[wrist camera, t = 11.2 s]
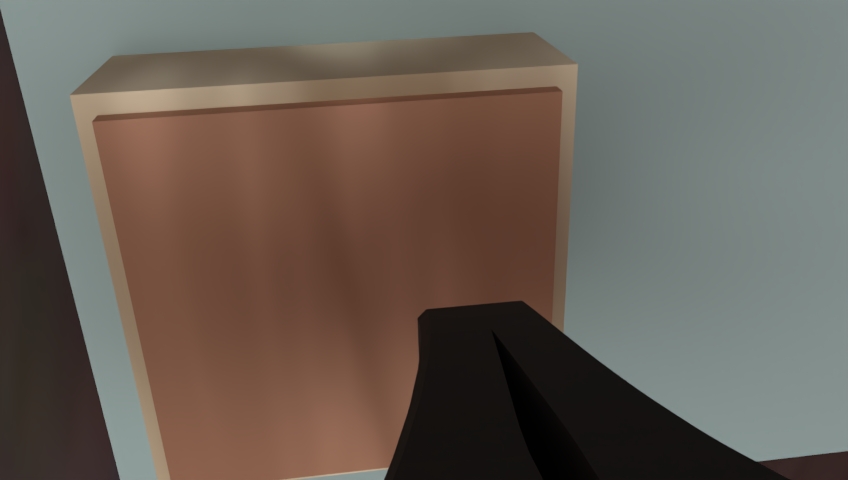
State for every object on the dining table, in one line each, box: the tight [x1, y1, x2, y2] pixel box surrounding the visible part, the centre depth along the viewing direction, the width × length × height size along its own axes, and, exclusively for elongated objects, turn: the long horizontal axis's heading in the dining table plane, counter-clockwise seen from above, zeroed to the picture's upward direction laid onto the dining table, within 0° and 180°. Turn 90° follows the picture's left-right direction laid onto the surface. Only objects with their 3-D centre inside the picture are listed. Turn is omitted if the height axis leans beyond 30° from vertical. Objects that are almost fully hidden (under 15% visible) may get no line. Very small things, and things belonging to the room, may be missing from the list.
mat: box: [0, 0, 848, 480], centre depth 15 cm, size 17×14×1 cm
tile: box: [70, 32, 578, 480], centre depth 13 cm, size 3×7×7 cm
